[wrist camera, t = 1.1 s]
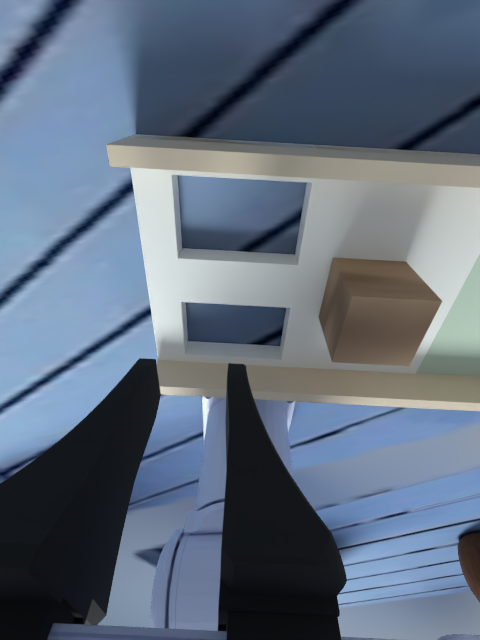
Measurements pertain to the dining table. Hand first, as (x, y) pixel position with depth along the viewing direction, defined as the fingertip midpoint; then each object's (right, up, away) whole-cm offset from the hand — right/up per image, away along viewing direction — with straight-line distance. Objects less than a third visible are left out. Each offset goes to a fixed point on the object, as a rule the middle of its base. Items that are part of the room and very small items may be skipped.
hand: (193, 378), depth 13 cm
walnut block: (+9, +4, +6) cm, 12 cm away
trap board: (+10, +5, +8) cm, 14 cm away
